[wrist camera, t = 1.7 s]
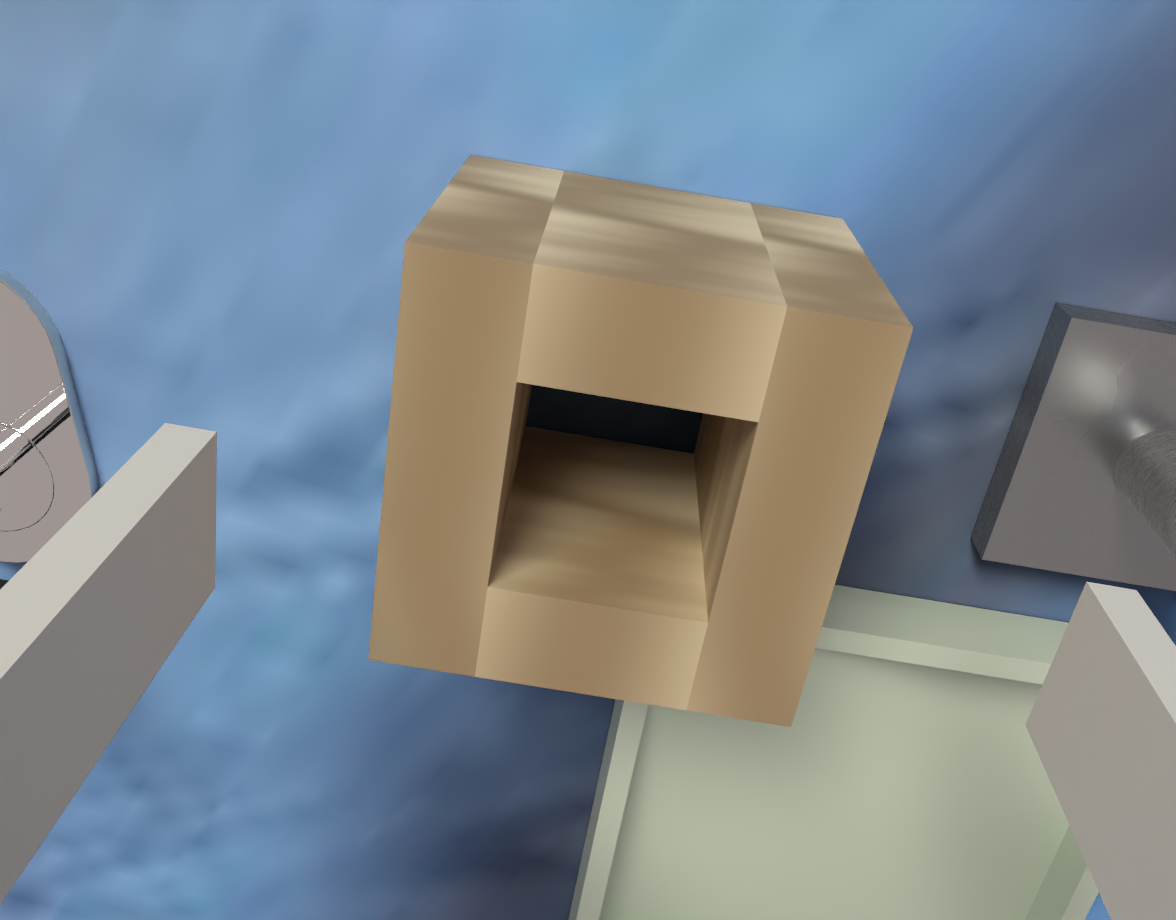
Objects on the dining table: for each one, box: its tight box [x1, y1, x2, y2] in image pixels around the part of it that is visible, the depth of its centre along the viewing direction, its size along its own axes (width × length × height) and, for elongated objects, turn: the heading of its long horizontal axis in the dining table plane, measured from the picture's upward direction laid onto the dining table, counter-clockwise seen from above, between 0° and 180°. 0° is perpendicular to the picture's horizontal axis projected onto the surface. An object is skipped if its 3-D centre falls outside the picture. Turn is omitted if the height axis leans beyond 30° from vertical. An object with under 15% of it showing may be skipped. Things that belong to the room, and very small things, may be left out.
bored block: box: [368, 155, 913, 727], centre depth 22 cm, size 8×8×7 cm
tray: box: [568, 585, 1099, 920], centre depth 30 cm, size 13×13×2 cm
